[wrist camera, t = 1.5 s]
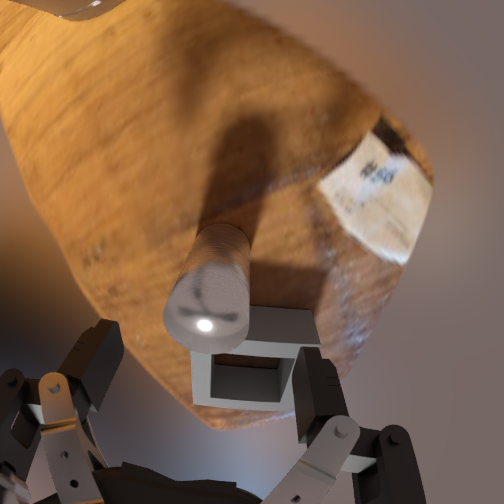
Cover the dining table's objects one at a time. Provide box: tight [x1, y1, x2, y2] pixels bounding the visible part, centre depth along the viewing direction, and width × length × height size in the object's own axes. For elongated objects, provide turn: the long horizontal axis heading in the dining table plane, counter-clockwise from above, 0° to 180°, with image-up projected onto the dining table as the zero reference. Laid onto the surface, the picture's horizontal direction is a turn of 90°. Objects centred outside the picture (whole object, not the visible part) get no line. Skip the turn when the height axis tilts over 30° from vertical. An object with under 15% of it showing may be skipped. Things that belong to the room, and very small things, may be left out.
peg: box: [163, 223, 250, 354], centre depth 16 cm, size 4×4×8 cm
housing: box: [190, 305, 321, 411], centre depth 22 cm, size 9×9×4 cm
